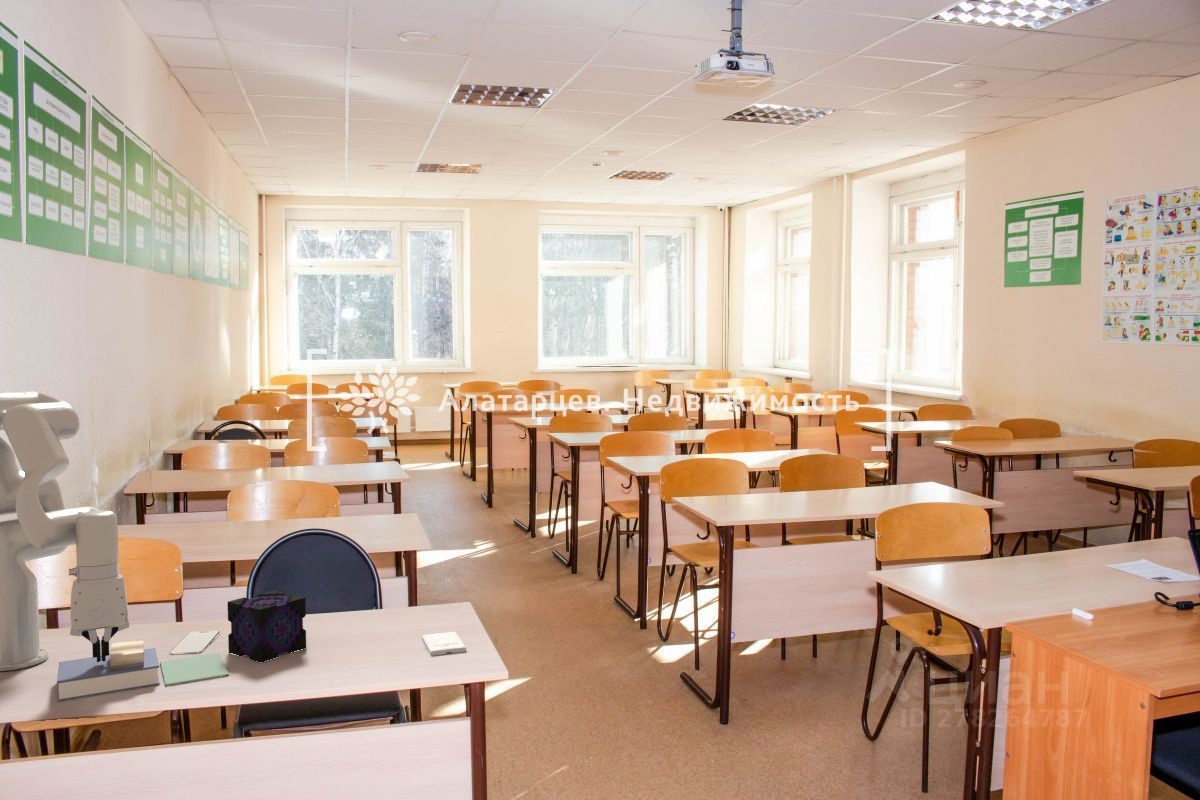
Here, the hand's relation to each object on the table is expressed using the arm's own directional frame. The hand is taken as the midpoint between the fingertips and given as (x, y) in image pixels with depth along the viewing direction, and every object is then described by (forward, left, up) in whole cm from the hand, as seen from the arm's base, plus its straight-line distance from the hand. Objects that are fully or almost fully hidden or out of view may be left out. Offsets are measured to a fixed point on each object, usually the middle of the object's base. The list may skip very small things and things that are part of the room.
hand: (101, 659), depth 184 cm
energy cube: (-5, +33, -6) cm, 34 cm away
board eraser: (0, +5, 0) cm, 5 cm away
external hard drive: (+12, +70, -6) cm, 71 cm away
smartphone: (-19, +19, -6) cm, 28 cm away
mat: (0, +17, -5) cm, 18 cm away
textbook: (0, +1, -5) cm, 5 cm away
